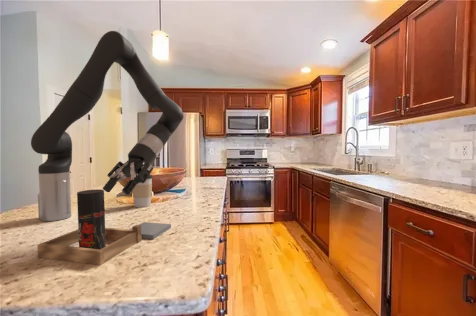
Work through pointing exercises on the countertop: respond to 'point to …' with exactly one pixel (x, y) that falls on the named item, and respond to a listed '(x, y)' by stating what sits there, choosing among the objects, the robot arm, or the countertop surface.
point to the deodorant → (91, 219)
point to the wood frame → (63, 251)
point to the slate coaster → (153, 229)
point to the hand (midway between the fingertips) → (114, 191)
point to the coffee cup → (143, 193)
